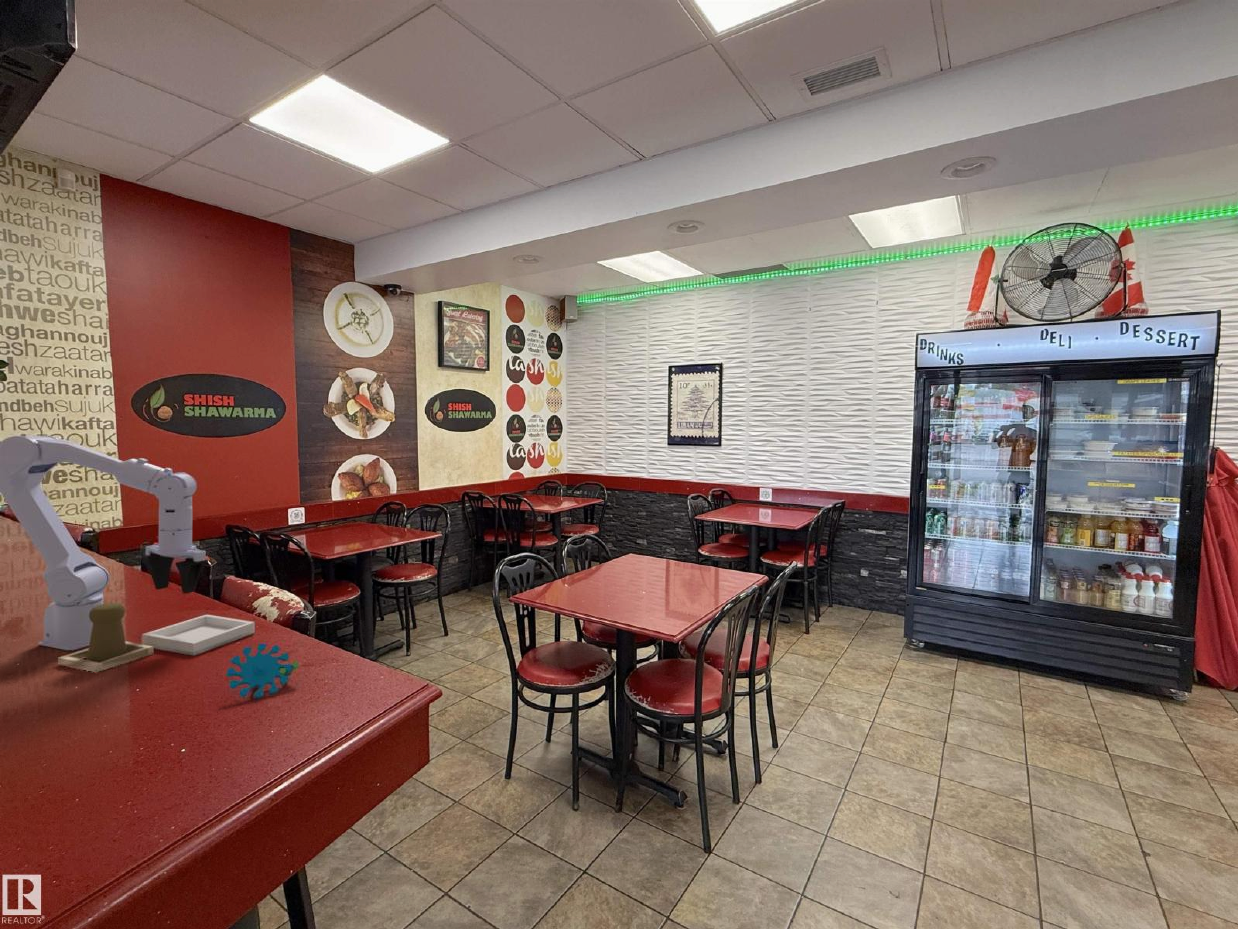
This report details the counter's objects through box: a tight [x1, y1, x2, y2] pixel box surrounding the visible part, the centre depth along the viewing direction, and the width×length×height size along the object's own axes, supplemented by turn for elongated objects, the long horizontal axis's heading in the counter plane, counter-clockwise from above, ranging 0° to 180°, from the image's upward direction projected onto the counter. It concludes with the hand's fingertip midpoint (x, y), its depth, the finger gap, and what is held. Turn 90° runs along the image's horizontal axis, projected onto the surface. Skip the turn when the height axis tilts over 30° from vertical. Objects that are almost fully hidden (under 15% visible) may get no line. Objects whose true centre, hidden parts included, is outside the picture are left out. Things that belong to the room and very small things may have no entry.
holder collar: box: [57, 640, 155, 674], centre depth 109 cm, size 10×10×2 cm
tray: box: [141, 614, 256, 657], centre depth 121 cm, size 14×14×2 cm
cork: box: [86, 602, 128, 663], centre depth 109 cm, size 6×6×11 cm
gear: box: [225, 642, 300, 699], centre depth 101 cm, size 11×6×10 cm
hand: (175, 590), depth 121 cm, fingers open, 7 cm apart
